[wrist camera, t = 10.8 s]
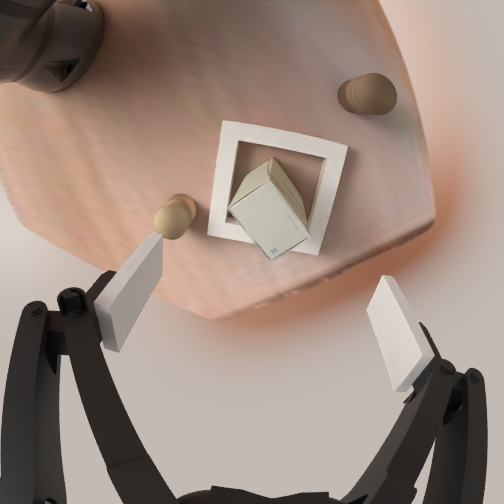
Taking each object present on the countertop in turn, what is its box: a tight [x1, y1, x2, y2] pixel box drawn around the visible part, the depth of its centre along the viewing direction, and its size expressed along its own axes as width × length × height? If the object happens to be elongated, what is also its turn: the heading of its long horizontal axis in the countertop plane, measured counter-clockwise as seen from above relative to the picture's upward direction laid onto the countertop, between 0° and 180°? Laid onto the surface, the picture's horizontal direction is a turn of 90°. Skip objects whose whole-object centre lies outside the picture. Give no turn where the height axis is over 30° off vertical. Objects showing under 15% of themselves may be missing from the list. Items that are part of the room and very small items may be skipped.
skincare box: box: [228, 157, 310, 262], centre depth 29 cm, size 6×4×12 cm
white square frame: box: [207, 120, 348, 256], centre depth 33 cm, size 14×14×2 cm
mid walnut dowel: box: [338, 73, 397, 115], centre depth 25 cm, size 4×4×8 cm
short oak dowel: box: [154, 194, 197, 240], centre depth 34 cm, size 4×4×5 cm
